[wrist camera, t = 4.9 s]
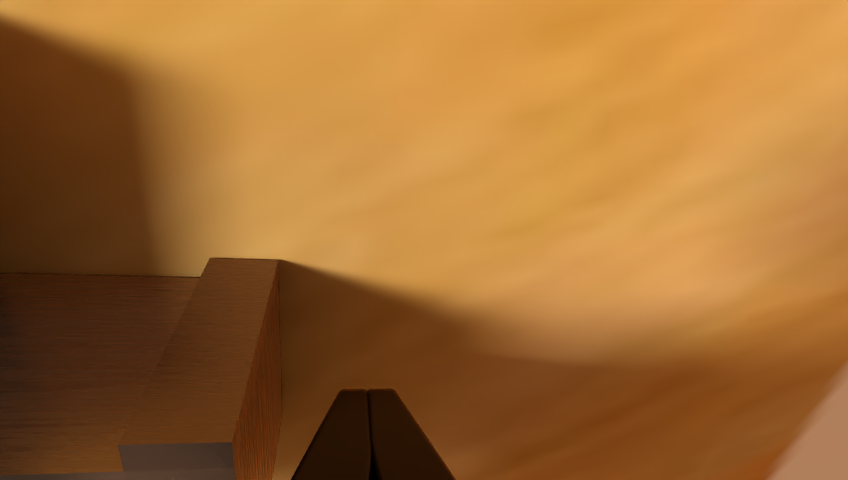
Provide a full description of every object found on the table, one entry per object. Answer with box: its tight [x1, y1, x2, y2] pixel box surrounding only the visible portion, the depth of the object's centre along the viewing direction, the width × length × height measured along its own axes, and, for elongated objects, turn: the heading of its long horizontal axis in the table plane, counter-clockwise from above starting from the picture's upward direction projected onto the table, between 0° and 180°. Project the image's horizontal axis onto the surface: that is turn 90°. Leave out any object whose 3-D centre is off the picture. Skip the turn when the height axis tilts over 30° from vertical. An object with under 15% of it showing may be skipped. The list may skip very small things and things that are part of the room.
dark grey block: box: [0, 258, 282, 480], centre depth 7 cm, size 3×5×4 cm, turn 84°
